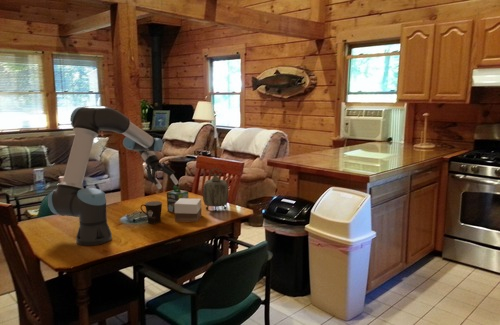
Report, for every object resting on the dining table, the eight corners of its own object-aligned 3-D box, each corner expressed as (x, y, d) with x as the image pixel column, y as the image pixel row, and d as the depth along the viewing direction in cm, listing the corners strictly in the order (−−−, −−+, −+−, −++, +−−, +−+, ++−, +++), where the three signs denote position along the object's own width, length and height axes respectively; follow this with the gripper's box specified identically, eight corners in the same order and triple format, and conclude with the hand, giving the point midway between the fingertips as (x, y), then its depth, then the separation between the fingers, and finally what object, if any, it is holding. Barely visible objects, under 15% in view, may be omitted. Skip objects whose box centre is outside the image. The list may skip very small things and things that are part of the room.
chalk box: (189, 210, 227) (188, 185, 225) (178, 214, 219) (178, 188, 217) (177, 207, 232) (177, 183, 229) (166, 211, 224) (166, 186, 222)
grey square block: (197, 222, 205) (197, 213, 204) (175, 222, 206) (174, 212, 205) (201, 215, 217) (201, 207, 216) (180, 215, 218) (180, 206, 217)
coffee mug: (165, 221, 205) (165, 203, 204) (151, 225, 199) (151, 206, 198) (153, 216, 213) (152, 199, 212) (139, 220, 207) (138, 202, 205)
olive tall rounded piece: (228, 208, 230) (228, 167, 226) (228, 213, 221) (227, 170, 217) (204, 208, 230) (203, 167, 226) (202, 213, 221) (202, 170, 217)
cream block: (196, 213, 204) (196, 204, 203) (174, 213, 205) (174, 204, 204) (201, 207, 216) (201, 198, 215) (180, 207, 217) (179, 198, 216)
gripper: (162, 159, 246) (180, 185, 240) (131, 165, 225) (150, 193, 220) (168, 152, 242) (186, 178, 237) (137, 157, 221) (156, 185, 216)
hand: (169, 185), depth 228 cm, fingers open, 13 cm apart
